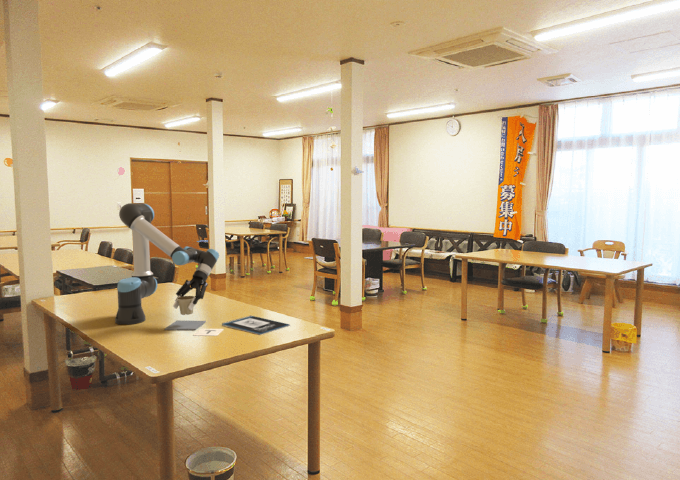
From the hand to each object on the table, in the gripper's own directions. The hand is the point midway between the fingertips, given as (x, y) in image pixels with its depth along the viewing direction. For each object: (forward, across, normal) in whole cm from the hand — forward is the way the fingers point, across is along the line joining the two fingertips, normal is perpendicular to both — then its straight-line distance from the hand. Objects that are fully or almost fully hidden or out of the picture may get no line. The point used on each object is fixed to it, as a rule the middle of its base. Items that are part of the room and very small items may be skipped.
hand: (182, 308), depth 238 cm
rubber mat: (+5, +1, -9) cm, 11 cm away
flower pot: (+1, 0, -5) cm, 5 cm away
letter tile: (+8, -18, -6) cm, 21 cm away
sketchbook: (-5, -32, -21) cm, 39 cm away
